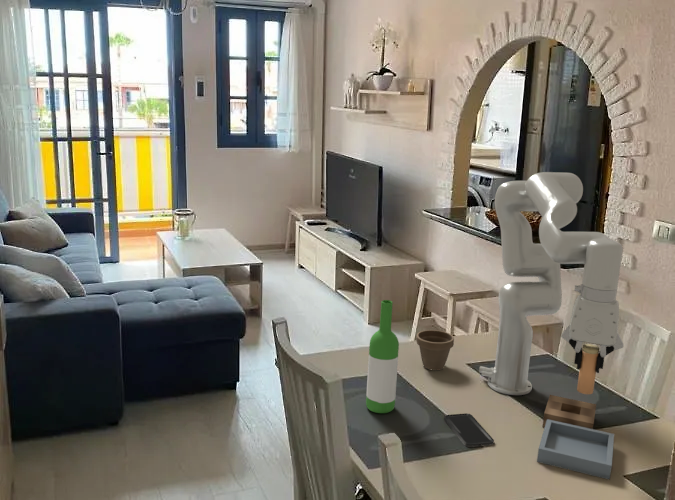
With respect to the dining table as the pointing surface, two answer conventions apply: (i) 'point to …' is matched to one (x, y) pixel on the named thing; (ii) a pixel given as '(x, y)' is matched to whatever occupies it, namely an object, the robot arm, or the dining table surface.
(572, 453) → the tray
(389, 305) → the wine bottle
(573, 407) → the pin block
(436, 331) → the flower pot
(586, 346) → the peg
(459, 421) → the phone
